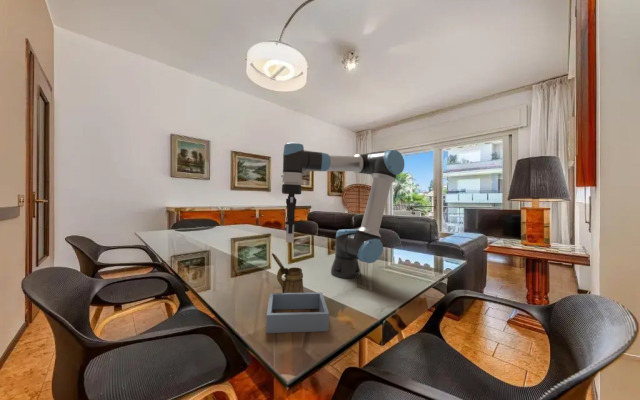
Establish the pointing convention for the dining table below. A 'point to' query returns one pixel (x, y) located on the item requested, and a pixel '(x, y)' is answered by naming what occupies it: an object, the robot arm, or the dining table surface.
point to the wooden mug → (289, 278)
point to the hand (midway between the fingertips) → (289, 238)
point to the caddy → (297, 320)
